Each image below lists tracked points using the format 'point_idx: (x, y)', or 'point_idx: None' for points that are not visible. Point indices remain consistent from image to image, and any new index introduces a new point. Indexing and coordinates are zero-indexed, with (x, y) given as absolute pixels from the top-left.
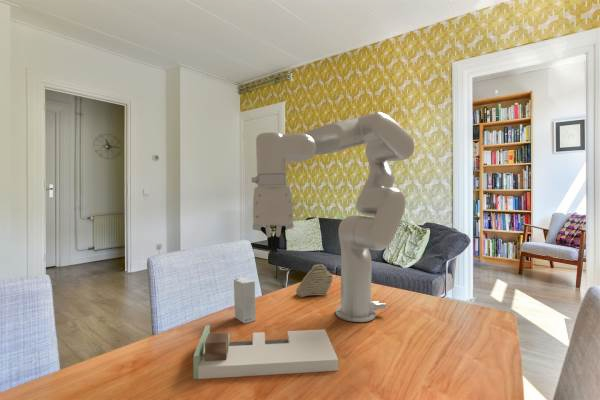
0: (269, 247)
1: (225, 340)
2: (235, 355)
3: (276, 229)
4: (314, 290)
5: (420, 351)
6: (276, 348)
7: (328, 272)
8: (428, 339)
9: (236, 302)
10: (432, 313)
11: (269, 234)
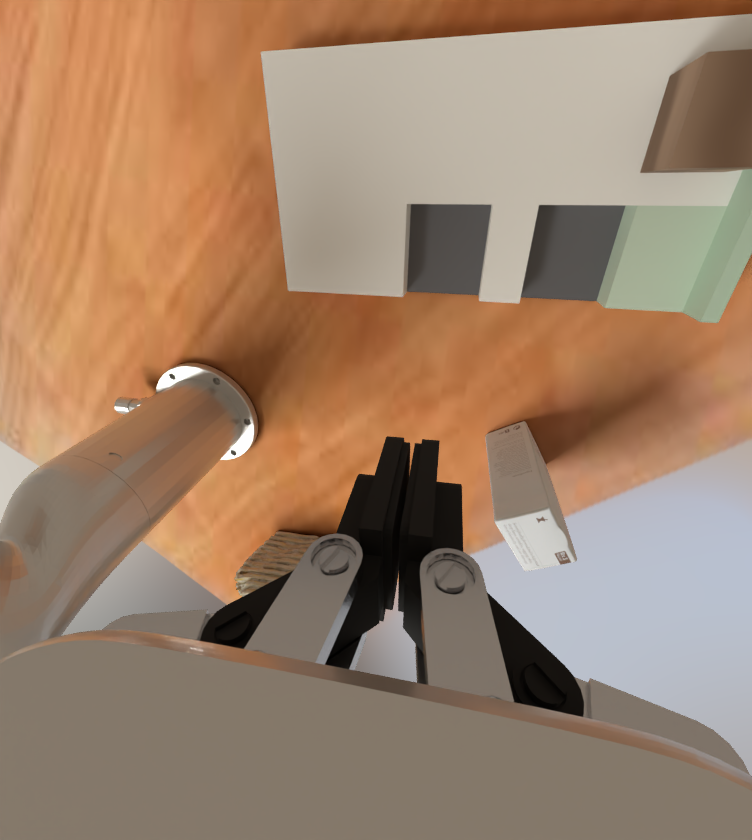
0: (449, 485)
1: (705, 75)
2: (621, 117)
3: (335, 630)
4: (299, 545)
5: (58, 169)
6: (457, 164)
7: (241, 588)
8: (40, 238)
9: (552, 487)
10: (35, 379)
11: (444, 583)
